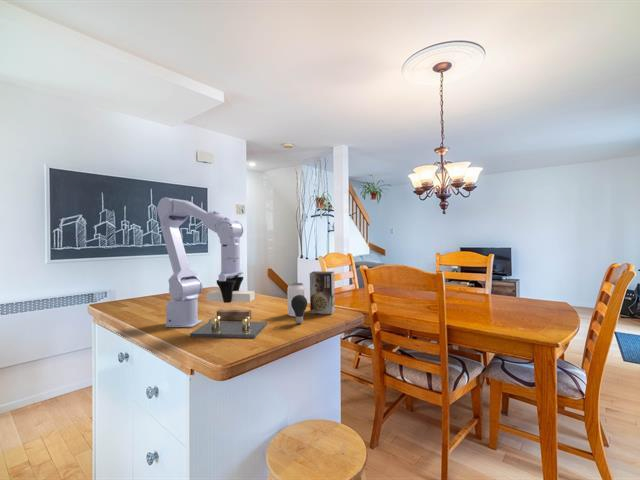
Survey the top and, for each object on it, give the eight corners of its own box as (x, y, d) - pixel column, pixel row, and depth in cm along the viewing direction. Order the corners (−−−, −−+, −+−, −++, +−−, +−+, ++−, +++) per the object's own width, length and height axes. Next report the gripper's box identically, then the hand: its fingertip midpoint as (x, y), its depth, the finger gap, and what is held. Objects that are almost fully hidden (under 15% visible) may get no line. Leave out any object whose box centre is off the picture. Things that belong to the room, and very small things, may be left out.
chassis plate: (190, 336, 92) (190, 323, 92) (210, 323, 106) (210, 312, 106) (255, 338, 90) (255, 324, 90) (266, 324, 104) (266, 313, 104)
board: (206, 301, 96) (206, 293, 96) (213, 298, 101) (213, 290, 101) (250, 301, 95) (249, 293, 95) (254, 298, 100) (254, 291, 100)
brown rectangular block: (216, 319, 111) (216, 311, 111) (219, 317, 114) (219, 309, 114) (248, 320, 110) (248, 311, 110) (251, 317, 113) (251, 309, 113)
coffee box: (335, 310, 124) (334, 271, 124) (332, 314, 118) (332, 273, 118) (313, 309, 126) (313, 270, 126) (309, 313, 120) (309, 272, 120)
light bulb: (292, 326, 102) (292, 296, 102) (290, 321, 108) (290, 293, 108) (308, 325, 103) (308, 296, 103) (306, 321, 109) (305, 293, 109)
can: (301, 317, 114) (301, 285, 114) (285, 316, 115) (285, 284, 115) (306, 313, 120) (305, 282, 120) (290, 312, 121) (290, 282, 121)
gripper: (234, 260, 90) (234, 305, 90) (249, 257, 105) (249, 296, 105) (211, 260, 91) (211, 305, 91) (229, 257, 105) (229, 296, 105)
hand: (230, 300), depth 98 cm, fingers closed on board, 5 cm apart
